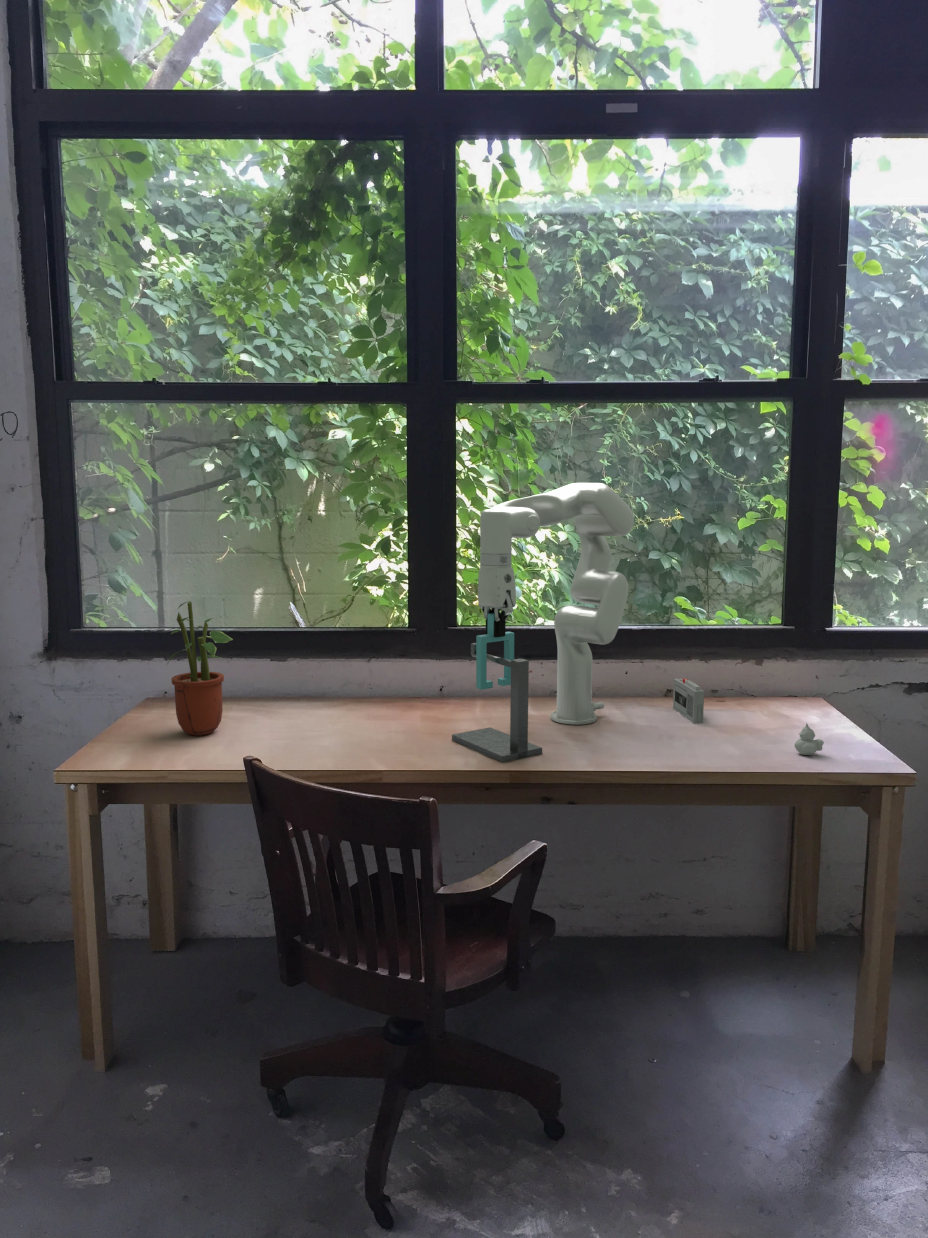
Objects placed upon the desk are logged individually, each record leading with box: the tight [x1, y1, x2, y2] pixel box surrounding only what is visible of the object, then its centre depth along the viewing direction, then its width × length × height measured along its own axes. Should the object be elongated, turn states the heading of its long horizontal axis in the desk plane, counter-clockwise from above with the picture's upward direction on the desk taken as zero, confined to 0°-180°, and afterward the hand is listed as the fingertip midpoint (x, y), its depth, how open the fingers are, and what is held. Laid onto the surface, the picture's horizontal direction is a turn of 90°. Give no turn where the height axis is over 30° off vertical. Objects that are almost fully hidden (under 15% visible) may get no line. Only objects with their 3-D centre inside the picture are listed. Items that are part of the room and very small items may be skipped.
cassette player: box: [672, 678, 705, 724], centre depth 252 cm, size 16×3×10 cm, turn 8°
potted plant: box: [166, 600, 234, 737], centre depth 236 cm, size 17×16×35 cm
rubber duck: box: [794, 722, 825, 756], centre depth 217 cm, size 5×7×8 cm
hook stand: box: [451, 642, 543, 763], centre depth 222 cm, size 12×22×25 cm, turn 34°
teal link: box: [475, 613, 515, 691], centre depth 221 cm, size 10×2×18 cm, turn 124°
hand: (495, 635), depth 220 cm, fingers closed on teal link, 2 cm apart
